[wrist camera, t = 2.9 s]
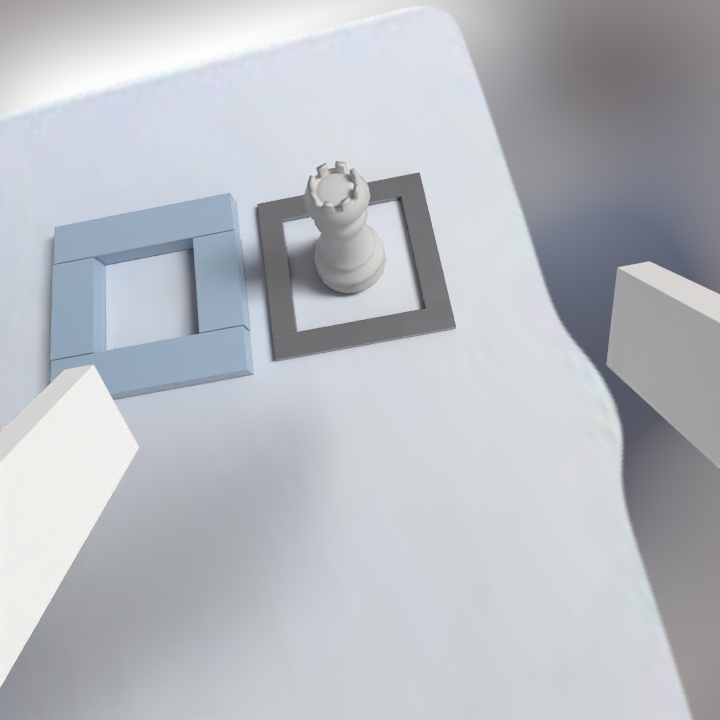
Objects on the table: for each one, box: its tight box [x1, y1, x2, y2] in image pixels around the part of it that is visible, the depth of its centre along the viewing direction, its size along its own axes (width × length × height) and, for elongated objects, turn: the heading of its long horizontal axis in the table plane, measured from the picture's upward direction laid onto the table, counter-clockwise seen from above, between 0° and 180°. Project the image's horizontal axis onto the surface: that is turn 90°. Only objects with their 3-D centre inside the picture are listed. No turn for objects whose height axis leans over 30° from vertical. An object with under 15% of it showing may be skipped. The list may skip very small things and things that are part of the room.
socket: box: [50, 193, 254, 399], centre depth 28 cm, size 12×12×1 cm
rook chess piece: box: [304, 161, 386, 294], centre depth 25 cm, size 4×4×8 cm
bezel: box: [257, 173, 456, 361], centre depth 28 cm, size 11×11×1 cm
